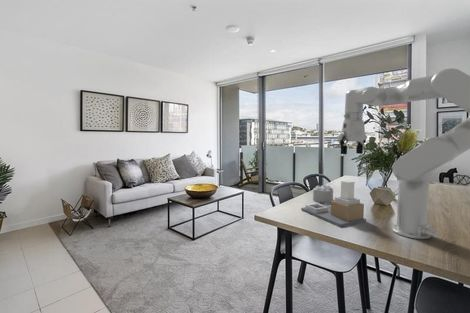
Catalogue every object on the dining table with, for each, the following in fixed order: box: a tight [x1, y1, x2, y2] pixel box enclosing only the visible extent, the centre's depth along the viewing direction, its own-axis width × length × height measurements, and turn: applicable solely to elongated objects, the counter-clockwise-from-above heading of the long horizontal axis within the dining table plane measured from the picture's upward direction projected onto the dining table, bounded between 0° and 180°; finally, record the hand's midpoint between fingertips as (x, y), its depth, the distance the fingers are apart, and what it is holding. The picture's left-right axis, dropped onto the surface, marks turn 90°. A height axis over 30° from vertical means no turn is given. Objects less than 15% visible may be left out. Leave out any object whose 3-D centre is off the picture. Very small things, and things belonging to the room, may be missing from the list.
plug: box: [340, 180, 356, 200], centre depth 112 cm, size 5×4×10 cm
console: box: [301, 195, 367, 228], centre depth 117 cm, size 26×16×10 cm, turn 23°
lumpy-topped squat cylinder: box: [312, 184, 334, 204], centre depth 146 cm, size 10×13×9 cm
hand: (351, 153), depth 112 cm, fingers open, 9 cm apart
